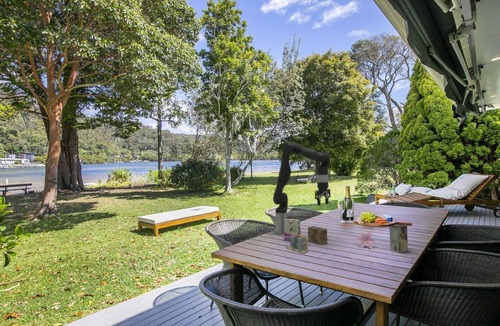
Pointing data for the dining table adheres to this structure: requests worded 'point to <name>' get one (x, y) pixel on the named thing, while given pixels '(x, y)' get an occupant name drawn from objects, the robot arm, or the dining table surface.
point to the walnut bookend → (317, 235)
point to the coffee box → (398, 238)
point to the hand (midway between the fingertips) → (322, 204)
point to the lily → (366, 240)
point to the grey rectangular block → (298, 243)
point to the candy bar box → (291, 228)
